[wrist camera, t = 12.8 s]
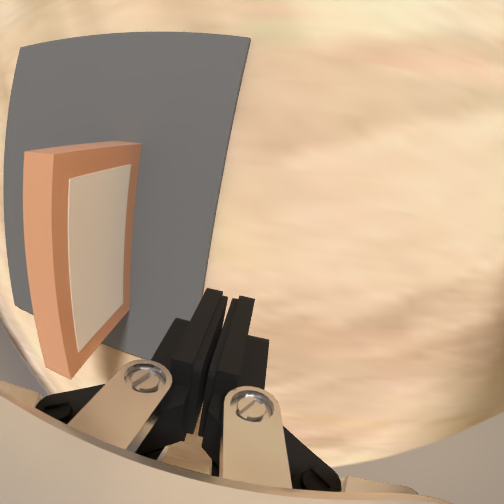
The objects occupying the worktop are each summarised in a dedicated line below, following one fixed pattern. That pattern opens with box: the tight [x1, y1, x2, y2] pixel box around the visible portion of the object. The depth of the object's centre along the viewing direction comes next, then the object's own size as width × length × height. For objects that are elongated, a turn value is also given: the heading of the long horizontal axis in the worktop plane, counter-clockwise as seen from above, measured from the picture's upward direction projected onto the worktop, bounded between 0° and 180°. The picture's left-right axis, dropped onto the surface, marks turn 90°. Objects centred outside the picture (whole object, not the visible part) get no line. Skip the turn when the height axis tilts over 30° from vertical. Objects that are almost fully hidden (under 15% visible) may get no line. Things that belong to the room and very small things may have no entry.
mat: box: [4, 32, 251, 360], centre depth 17 cm, size 20×16×1 cm
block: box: [23, 141, 142, 379], centre depth 14 cm, size 10×2×7 cm, turn 169°
